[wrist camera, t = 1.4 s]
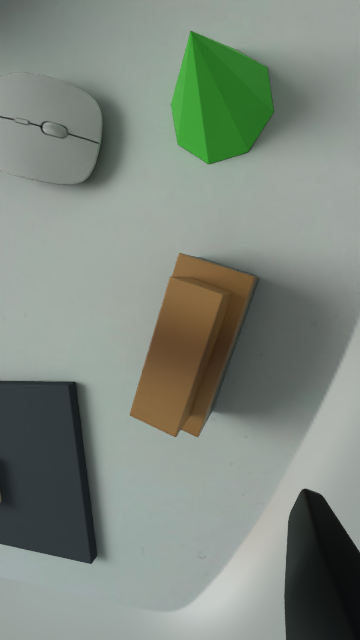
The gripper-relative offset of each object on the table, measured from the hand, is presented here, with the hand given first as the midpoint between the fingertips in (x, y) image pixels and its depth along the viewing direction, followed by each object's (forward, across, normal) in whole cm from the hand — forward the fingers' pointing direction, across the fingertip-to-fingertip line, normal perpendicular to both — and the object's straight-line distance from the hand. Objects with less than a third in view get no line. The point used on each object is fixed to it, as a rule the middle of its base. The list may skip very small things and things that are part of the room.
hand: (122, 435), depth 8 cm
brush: (+12, 0, +2) cm, 12 cm away
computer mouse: (+16, +14, -7) cm, 22 cm away
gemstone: (+15, +2, -11) cm, 18 cm away
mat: (+11, +15, +18) cm, 26 cm away
